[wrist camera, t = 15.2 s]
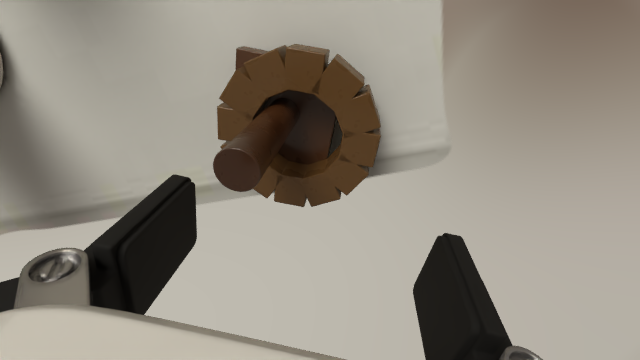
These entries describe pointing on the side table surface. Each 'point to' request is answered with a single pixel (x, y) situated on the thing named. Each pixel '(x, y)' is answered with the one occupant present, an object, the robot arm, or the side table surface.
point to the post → (275, 135)
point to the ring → (331, 88)
